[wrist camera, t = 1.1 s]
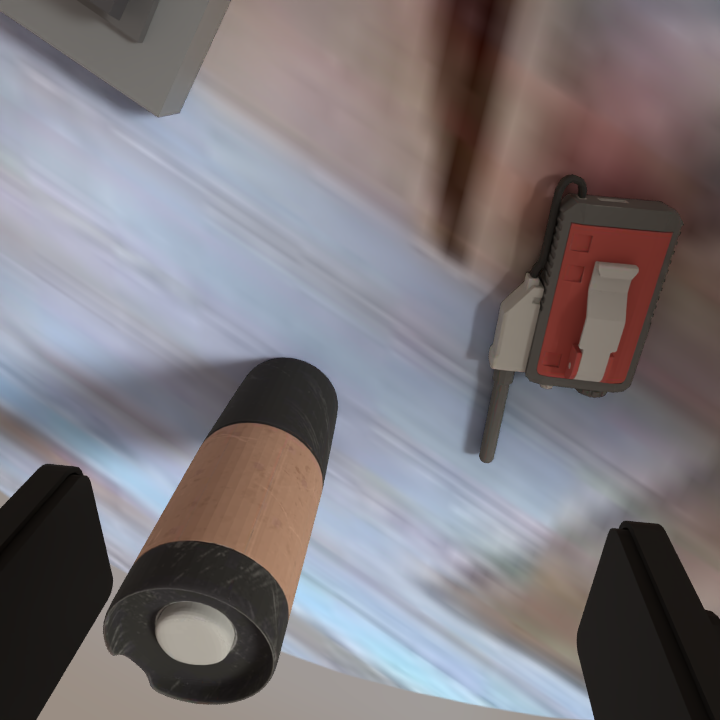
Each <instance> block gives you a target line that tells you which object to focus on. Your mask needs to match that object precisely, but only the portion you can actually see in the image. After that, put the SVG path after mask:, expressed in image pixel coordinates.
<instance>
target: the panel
mask: <svg viewBox="0 0 720 720" xmlns="http://www.w3.org/2000/svg"><path fill="white" fill-rule="evenodd" d="M230 1H231V0H129V2H128V4H127V6H126V8H125V10H124V12H123V14H122V17H121V19H120V21H119V20H117V19H116V18H114V17H112V16H110V15H109V14H107V13H106V12H104V11H103V10H102V9H100V8H99V7H97V6H96V5H94V4H93V3H91V2H90V1H89V0H0V11H1V12H2V13H4V14H5V15H7V16H8V17H10V18H11V19H13V20H14V21H16V22H17V23H18V24H20V25H21V26H23V27H24V28H26V29H27V30H29V31H30V32H32V33H33V34H35V35H36V36H38V37H39V38H41V39H42V40H44V41H45V42H47V43H48V44H50V45H51V46H53V47H54V48H56V49H57V50H59V51H60V52H62V53H63V54H64V55H66V56H67V57H69V58H70V59H72V60H73V61H75V62H76V63H78V64H79V65H81V66H82V67H84V68H85V69H87V70H88V71H90V72H91V73H93V74H94V75H96V76H97V77H99V78H100V79H102V80H103V81H105V82H106V83H108V84H109V85H111V86H112V87H113V88H115V89H116V90H118V91H119V92H121V93H122V94H124V95H125V96H127V97H128V98H130V99H131V100H133V101H134V102H136V103H137V104H139V105H140V106H142V107H143V108H145V109H146V110H148V111H149V112H151V113H152V114H154V115H155V116H157V117H163V116H168V115H173V114H178V113H180V111H181V109H182V107H183V104H184V102H185V100H186V98H187V96H188V93H189V91H190V89H191V87H192V85H193V82H194V80H195V78H196V76H197V74H198V71H199V69H200V67H201V65H202V63H203V60H204V58H205V56H206V54H207V52H208V49H209V47H210V45H211V43H212V41H213V38H214V36H215V34H216V32H217V30H218V28H219V25H220V23H221V21H222V19H223V17H224V14H225V12H226V10H227V8H228V6H229V3H230Z"/></svg>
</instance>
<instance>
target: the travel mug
mask: <svg viewBox="0 0 720 720" xmlns="http://www.w3.org/2000/svg"><path fill="white" fill-rule="evenodd" d="M337 410H338V400H337V395H336V392H335V389H334V387H333V385H332V384H331V382H330V381H329V379H328V378H327V377H326V376H325V375H324V374H323V373H322V372H321V371H320V370H319V369H317V368H316V367H314V366H312V365H311V364H309V363H306V362H304V361H301V360H297V359H292V358H277V359H272V360H269V361H266V362H263V363H262V364H260V365H258V366H257V367H255V368H254V369H253V370H252V371H251V372H250V373H249V374H248V375H247V377H246V378H245V379H244V381H243V382H242V384H241V385H240V387H239V388H238V390H237V391H236V393H235V394H234V396H233V397H232V399H231V400H230V402H229V403H228V405H227V407H226V408H225V410H224V411H223V413H222V414H221V416H220V417H219V419H218V420H217V422H216V423H215V425H214V426H213V428H212V430H211V431H210V433H209V434H208V436H207V437H206V439H205V440H204V442H203V444H202V445H201V447H200V448H199V450H198V452H197V454H196V455H195V457H194V459H193V461H192V462H191V464H190V466H189V468H188V469H187V471H186V473H185V475H184V476H183V478H182V480H181V482H180V483H179V485H178V487H177V489H176V490H175V492H174V494H173V496H172V497H171V499H170V501H169V503H168V504H167V506H166V508H165V510H164V511H163V513H162V515H161V517H160V518H159V520H158V522H157V524H156V525H155V527H154V529H153V531H152V532H151V534H150V536H149V538H148V539H147V541H146V543H145V545H144V547H143V548H142V550H141V552H140V554H139V555H138V557H137V559H136V561H135V562H134V564H133V566H132V568H131V569H130V571H129V573H128V575H127V576H126V578H125V580H124V582H123V583H122V585H121V587H120V589H119V590H118V592H117V594H116V596H115V597H114V599H113V601H112V603H111V605H110V607H109V609H108V611H107V613H106V616H105V620H104V625H103V634H104V640H105V643H106V646H107V649H108V651H109V652H110V654H111V655H113V656H115V655H119V654H120V655H124V656H126V657H128V658H129V659H131V660H132V661H133V662H135V663H136V664H137V665H138V666H139V667H140V668H142V670H143V671H144V672H145V673H146V675H147V677H148V679H149V683H150V686H151V687H152V688H153V689H154V690H155V691H157V692H158V693H160V694H163V695H165V696H167V697H171V698H174V699H177V700H181V701H185V702H191V703H196V704H228V703H233V702H237V701H241V700H244V699H246V698H249V697H251V696H253V695H255V694H256V693H258V692H259V691H260V690H262V689H263V688H264V687H265V686H266V685H267V683H268V682H269V681H270V679H271V678H272V676H273V674H274V671H275V669H276V666H277V662H278V658H279V655H280V651H281V647H282V643H283V639H284V636H285V632H286V628H287V624H288V620H289V616H290V613H291V609H292V605H293V601H294V597H295V593H296V590H297V586H298V582H299V578H300V574H301V570H302V567H303V563H304V559H305V555H306V551H307V547H308V543H309V540H310V536H311V532H312V528H313V524H314V520H315V517H316V513H317V509H318V505H319V501H320V497H321V494H322V489H323V485H324V480H325V475H326V469H327V464H328V459H329V454H330V449H331V444H332V439H333V434H334V429H335V424H336V418H337Z"/></svg>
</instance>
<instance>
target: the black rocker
mask: <svg viewBox="0 0 720 720" xmlns="http://www.w3.org/2000/svg"><path fill="white" fill-rule="evenodd" d="M89 1H90V2H91V3H93V4H94V5H96V6H97V7H99V8H100V9H102V10H103V11H104V12H106V13H107V14H109V15H110V16H112V17H114V18H116V19H117V20H119V21H120V19H121V17H122V14H123V12H124V10H125V8H126V6H127V4H128V2H129V0H89Z"/></svg>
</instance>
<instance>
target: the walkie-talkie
mask: <svg viewBox="0 0 720 720" xmlns="http://www.w3.org/2000/svg"><path fill="white" fill-rule="evenodd" d="M569 183H575V184H577V185H578V194H570V193H569V194H568V195H566V196H565V197H564V198H563V199H561V198H562V194H563V192H564V190H565V188H566V186H567V185H568V184H569ZM586 194H587V187H586V183H585V181H584V180H583V179H582V178H581V177H578V176H576V175H573V174H572V175H567V176H565V177H564V178H562V179H561V180H560V182H559V183H558V185H557V187H556V189H555V192H554V197H553V201H552V206H551V210H550V215H549V220H548V224H547V229H546V233H545V238H544V242H543V246H542V250H541V254H540V257H539V260H538V262H537V263H536V264H535V265H534V266H533V268H532V270H531V272H530V273H526V276H525V281H524V282H523V283H522V284H521V285H520V286H519V287H518V288H517V289H516V290H515V291H513V292H512V293H511V294H510V295H509V296H508V297H507V298H506V299H505V300H504V301H502V303H501V306H500V311H499V316H498V321H497V326H496V331H495V336H494V341H493V344H492V345H491V346H490V350H489V356H488V357H489V363H490V367H491V368H492V369H495V370H494V374H493V380H494V385H493V390H492V395H491V400H490V405H489V409H488V414H487V419H486V424H485V429H484V434H483V439H482V444H481V449H480V454H479V457H480V460H481V461H482V462H484V463H490V462H492V460H493V459H494V454H495V450H496V445H497V440H498V436H499V431H500V426H501V422H502V417H503V413H504V408H505V403H506V399H507V394H508V389H509V385H510V384H511V383H512V382H513V378H514V373H515V371H516V372H525V373H526V374H525V375H526V377H527V378H528V379H529V381H531V382H534V383H538V384H540V386H541V387H542V388H545V389H551V388H552V387H553V386H559V387H568V388H575V389H576V390H577V391H578V392H579V393H581V394H583V395H586V396H588V397H594V398H596V397H602V396H605V395H606V393H607V392H613V393H614V392H622V391H624V390H626V389H627V388H628V387H630V385H631V382H632V379H633V376H634V373H635V370H636V367H637V364H638V361H639V358H640V355H641V352H642V349H643V346H644V343H645V340H646V337H647V334H648V331H649V328H650V325H651V322H650V320H651V317H653V315H654V314H653V311H654V309H655V308H656V302H657V300H659V293H660V291H662V284H663V282H665V275H666V273H668V266H669V264H671V257H672V255H673V254H674V252H675V251H674V248H675V245H677V243H678V242H677V238H678V236H679V235H680V234H681V232H680V229H681V226H682V225H684V224H683V222H682V220H681V218H680V216H679V214H678V212H677V211H676V210H674V209H672V208H671V207H669V206H668V205H666V204H664V203H663V202H660V201H649V200H638V199H627V198H615V197H604V196H593V195H586ZM542 269H543V270H542ZM541 270H542V273H540V278H541V279H539V277H538V274H539V272H540V271H541Z"/></svg>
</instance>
